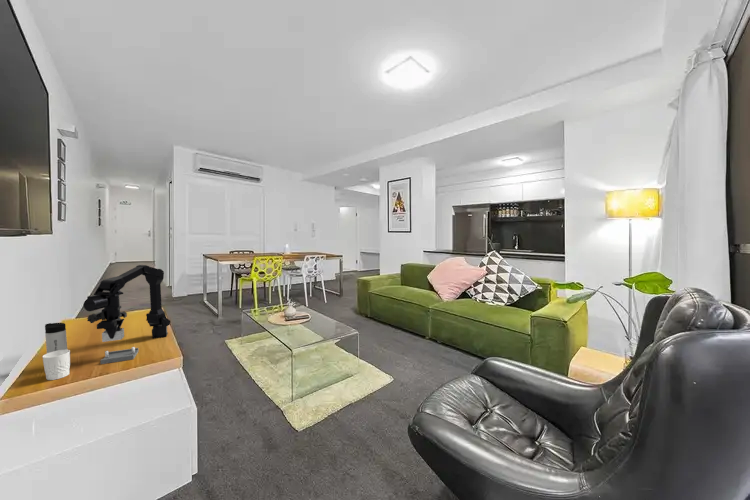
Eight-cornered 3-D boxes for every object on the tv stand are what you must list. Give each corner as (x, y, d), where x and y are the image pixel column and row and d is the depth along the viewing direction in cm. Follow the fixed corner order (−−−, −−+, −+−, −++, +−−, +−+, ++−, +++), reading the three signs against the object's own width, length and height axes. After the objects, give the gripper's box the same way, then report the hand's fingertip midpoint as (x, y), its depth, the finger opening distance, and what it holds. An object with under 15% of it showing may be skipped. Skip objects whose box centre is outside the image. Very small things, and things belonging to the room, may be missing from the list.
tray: (138, 351, 149) (138, 343, 149) (133, 359, 141) (133, 350, 140) (107, 356, 144) (107, 347, 143) (100, 364, 135) (100, 355, 135)
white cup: (75, 373, 127) (74, 351, 126) (50, 382, 119) (49, 358, 119) (65, 370, 129) (63, 348, 129) (39, 379, 122) (38, 355, 121)
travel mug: (57, 363, 135) (53, 321, 134) (72, 363, 136) (69, 321, 134) (42, 370, 129) (39, 326, 127) (59, 370, 130) (55, 326, 128)
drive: (124, 336, 146) (123, 327, 145) (121, 339, 142) (120, 330, 141) (105, 338, 143) (105, 329, 142) (102, 341, 139) (101, 332, 138)
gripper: (97, 302, 146) (99, 332, 147) (80, 312, 129) (82, 346, 130) (126, 300, 151) (127, 329, 152) (112, 309, 134) (114, 342, 135)
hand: (113, 336), depth 142 cm, fingers closed on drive, 4 cm apart
